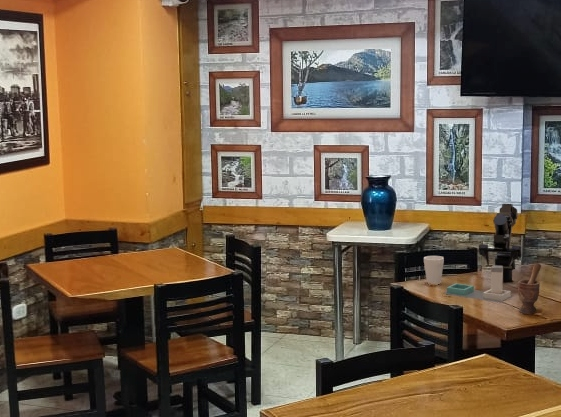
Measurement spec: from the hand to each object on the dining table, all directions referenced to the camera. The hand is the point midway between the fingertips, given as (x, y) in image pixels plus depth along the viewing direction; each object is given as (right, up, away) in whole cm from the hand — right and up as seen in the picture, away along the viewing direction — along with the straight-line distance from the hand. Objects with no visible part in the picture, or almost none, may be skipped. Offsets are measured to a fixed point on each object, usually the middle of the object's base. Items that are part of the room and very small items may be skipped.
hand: (498, 266), depth 366 cm
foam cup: (-24, -11, +25) cm, 37 cm away
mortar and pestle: (+6, -17, -25) cm, 31 cm away
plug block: (-2, -13, -6) cm, 15 cm away
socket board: (-9, -14, 0) cm, 17 cm away
